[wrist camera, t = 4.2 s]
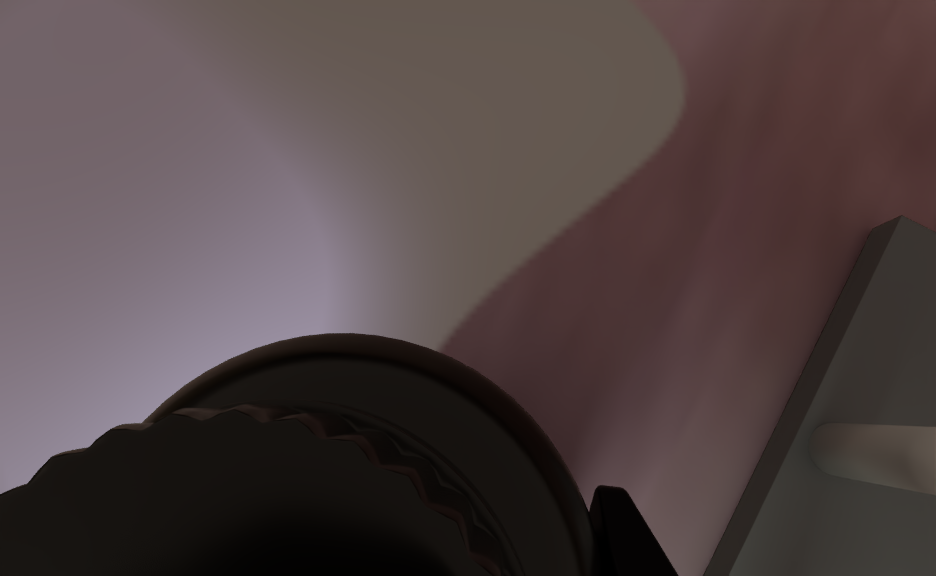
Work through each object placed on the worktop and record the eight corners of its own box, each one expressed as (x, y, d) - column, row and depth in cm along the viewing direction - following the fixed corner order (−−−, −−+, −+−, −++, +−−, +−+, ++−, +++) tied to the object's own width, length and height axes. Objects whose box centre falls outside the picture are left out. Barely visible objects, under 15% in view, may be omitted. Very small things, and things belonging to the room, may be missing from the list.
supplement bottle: (531, 356, 16) (652, 224, 5) (564, 640, 15) (849, 1439, 3) (268, 383, 17) (-266, 320, 5) (280, 669, 15) (-412, 1563, 3)
